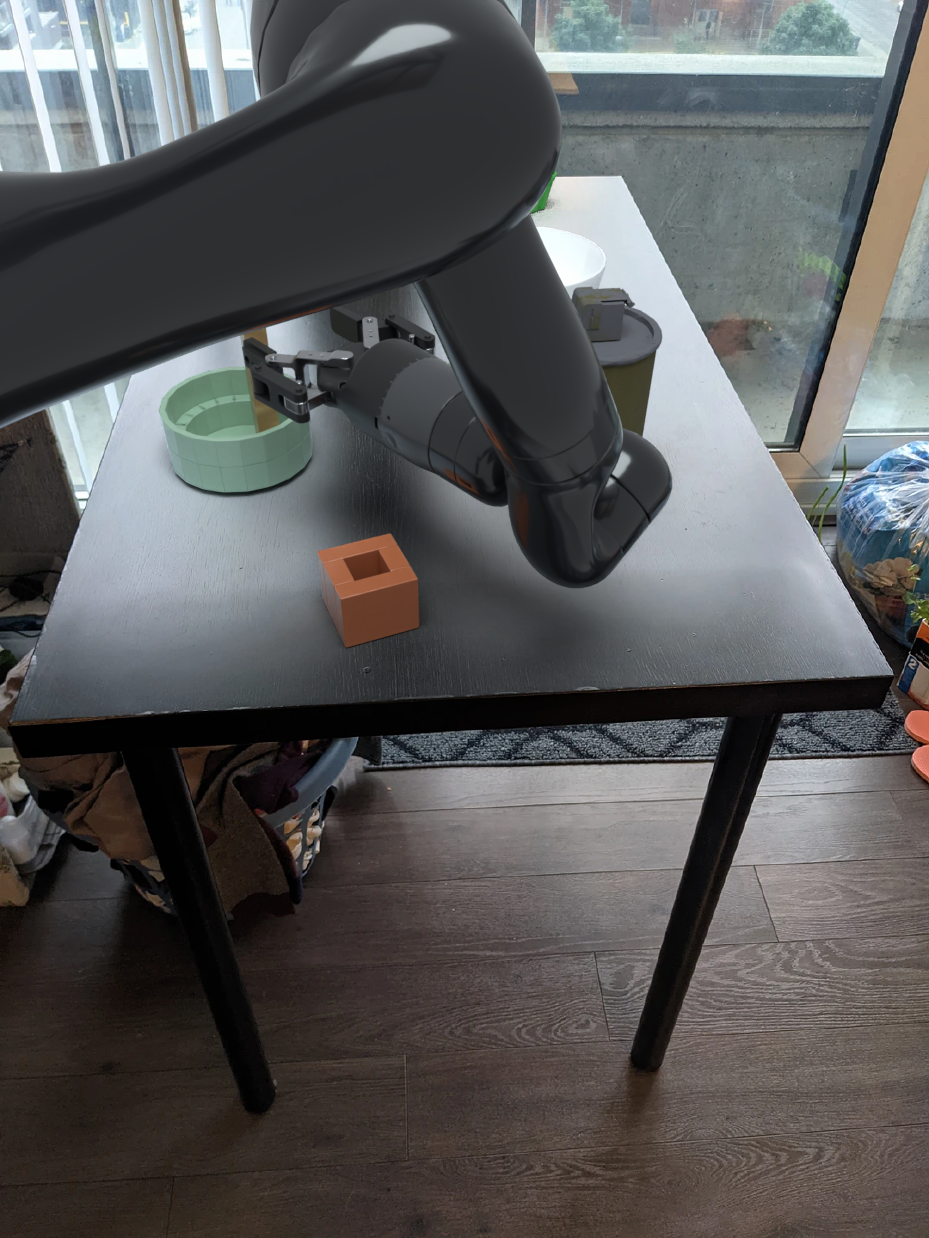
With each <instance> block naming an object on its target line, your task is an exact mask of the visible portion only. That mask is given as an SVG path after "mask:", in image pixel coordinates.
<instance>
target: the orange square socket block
mask: <svg viewBox="0 0 929 1238" xmlns="http://www.w3.org/2000/svg"><path fill="white" fill-rule="evenodd" d="M316 555H317V556H316V557H317V562H318V572H319V573H318V574H319V581H320V587H321V588H320V589H321V597H322V601H323V603H324V605H325V608H326V610H327V611H328V614H329V616H330V618H331V621H332V622H333V624H334V627H335V629H336V630H337V633H338V634H339V638H340V639H341V641H342V644H343V645H344V647H345V649H346V648H351V647H355V646H359V645H361V644H365V643H369V642H373V641H377V640H379V639H383V638H387V637H390V636H393V635H398V634H402V633H405V632H407V631H413V630H415V629H418V628H420V605H419V604H420V599H419V597H420V596H419V578H418V577H417V575H416V573H415V572H414V570H413V568H412V566H411V565H410V563H409V561H408V560H407V558H406V556H405V555H404V553H403V551H402V550H401V548H400V546H399V544H398V543H397V541H396V540H395V538H394V536H393V535H392V533H390V532H389V533H386V534H382V535H377V536H373V537H368V538H364V539H360V540H357V541H353V542H349V543H344V544H341V545H336V546H333V547H329V548H324V549H320V550H318V551H316Z"/></svg>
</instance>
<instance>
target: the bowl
mask: <svg viewBox="0 0 929 1238" xmlns="http://www.w3.org/2000/svg"><path fill="white" fill-rule="evenodd" d="M535 226H536V228H537V230H538V233H539V235H540V237H541V239H542V241H543V244H544V246H545V248H546V250H547V252H548V254H549V256H550V258H551V260H552V262H553V264H554V267H555V269H556V271H557V273H558V275H559V277H560V279H561V281H562V283H563V285H564V287H565V289H566V291H567V293H568V294H569V296H570V298H571V299H572V295H573V291H574V289H575V288H577V287H593V289H600V285H601V282H602V279H603V276H604V272H605V271H606V270H605V269H606V265H607V257H606V253H605V252H604V250H603V249H602V248H601V247H600V246H599V245H598V244H596V243H595V242H594V241H593V240H591V239H588V238H587V237H585V236H583V235H579V234H576V233H574V232H570V231H566V230H563V229H558V228H553V227H548V226H547V227H546V226H538V225H535Z"/></svg>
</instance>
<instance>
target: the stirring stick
mask: <svg viewBox="0 0 929 1238" xmlns="http://www.w3.org/2000/svg"><path fill="white" fill-rule="evenodd" d="M250 337H253V338H255V339H257V340H258V341H260V342H262V343H263V344H265V345H267V346H268V347H270V346H269V339H268V333H267V328H263V329H260V330H257V331H254V332H250V333H247V334H244V335H241V336H239V338H240V345H241V348H242V347H244V346H243V340H245V339H248V338H250ZM244 367H245V370H246V376H247V382H248V388H249V395H250V401H251V407H252V413H253V420H254V426H255V432H256V433H260V432H263V431H265V430H268V429H270V428H273V427H275V426H278V425H279V417H278V412H277V411H275V410H274V409H272V408H270V407H269V406H267V405H265V404H263V403H262V402H260V401H258V400H256V399H255V398H254V388H253V382H252V375H251V372H250V369H249V368H247V367H246V366H245V365H244Z"/></svg>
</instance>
